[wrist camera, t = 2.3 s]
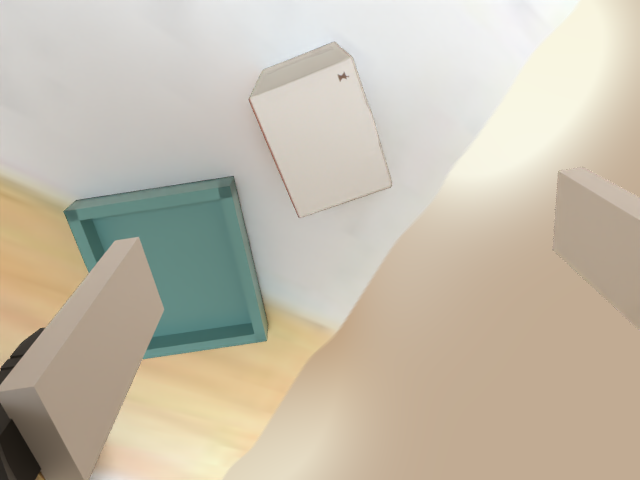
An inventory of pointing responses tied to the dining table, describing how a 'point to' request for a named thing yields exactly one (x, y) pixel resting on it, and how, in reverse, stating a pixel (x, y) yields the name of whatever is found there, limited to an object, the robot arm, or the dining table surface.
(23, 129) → the dining table surface
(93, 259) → the tray
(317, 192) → the small box
